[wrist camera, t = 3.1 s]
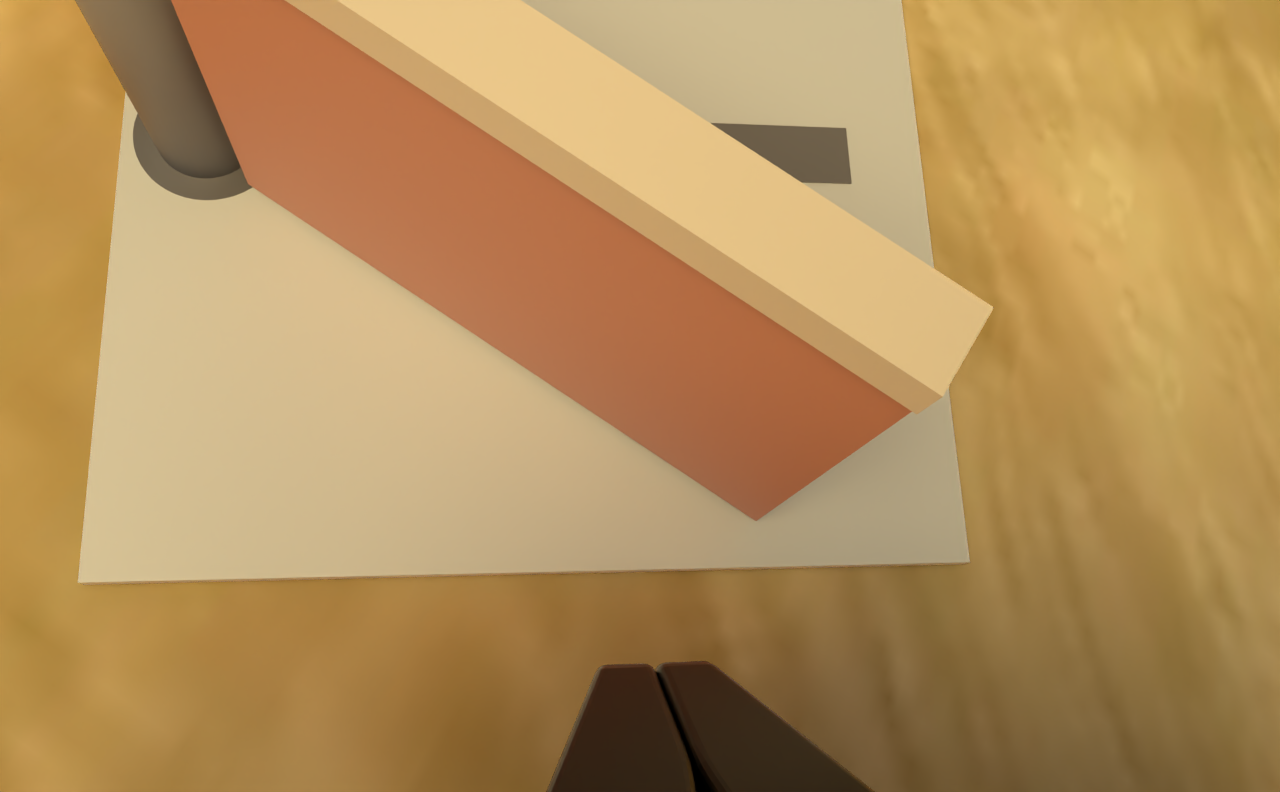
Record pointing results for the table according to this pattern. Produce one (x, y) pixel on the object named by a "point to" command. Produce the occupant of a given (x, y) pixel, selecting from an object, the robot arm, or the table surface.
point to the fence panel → (587, 229)
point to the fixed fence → (163, 83)
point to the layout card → (481, 360)
